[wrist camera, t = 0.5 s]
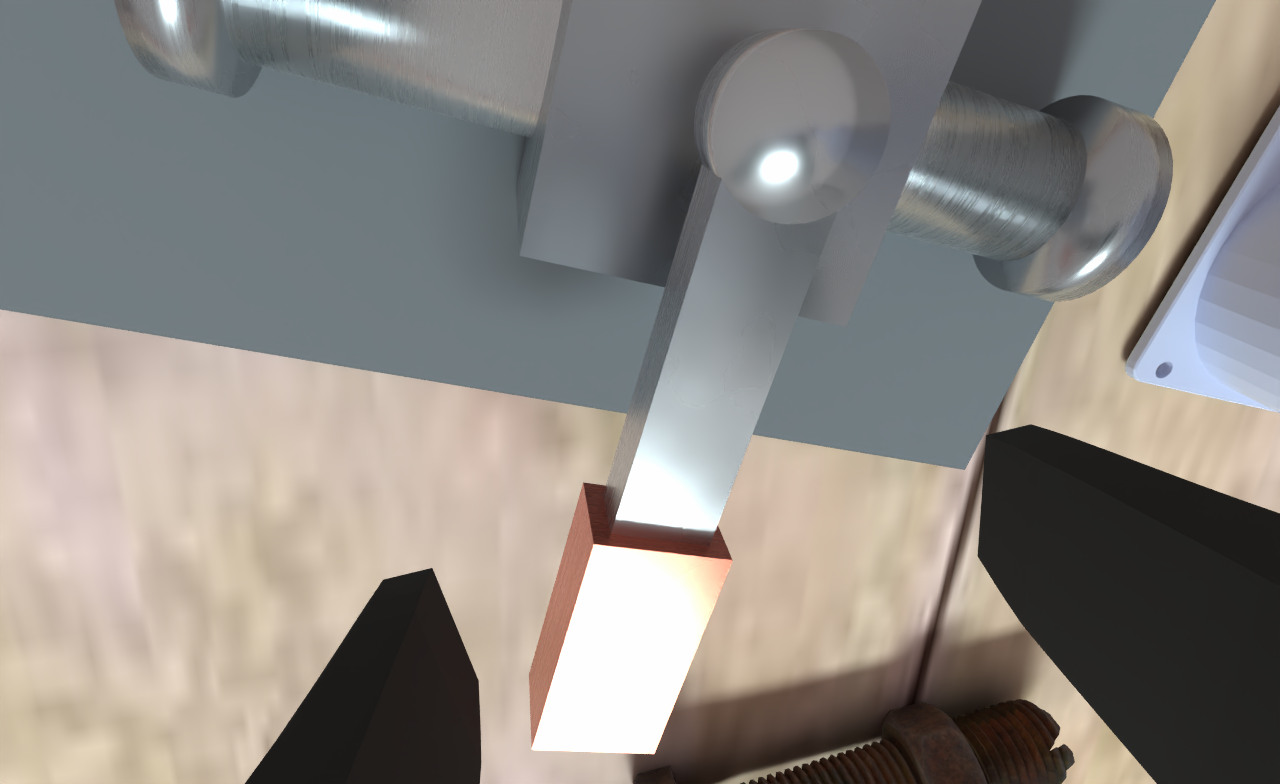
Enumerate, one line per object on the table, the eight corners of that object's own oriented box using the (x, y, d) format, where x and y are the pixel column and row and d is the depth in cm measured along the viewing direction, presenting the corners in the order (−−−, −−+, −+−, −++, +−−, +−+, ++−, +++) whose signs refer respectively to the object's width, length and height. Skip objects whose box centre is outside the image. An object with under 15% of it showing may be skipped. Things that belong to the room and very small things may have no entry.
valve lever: (717, 5, 9) (757, 2, 8) (871, 55, 10) (934, 62, 8) (529, 674, 14) (531, 749, 12) (639, 681, 14) (654, 753, 13)
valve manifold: (1079, 61, 16) (1354, 79, 11) (965, 299, 18) (1147, 408, 13) (223, -251, 11) (-11, -480, 6) (213, 117, 13) (35, 173, 8)
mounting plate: (1251, -140, 15) (1295, -150, 14) (945, 451, 21) (965, 469, 20) (-132, -830, 9) (-201, -922, 8) (-14, 285, 15) (-46, 301, 14)
